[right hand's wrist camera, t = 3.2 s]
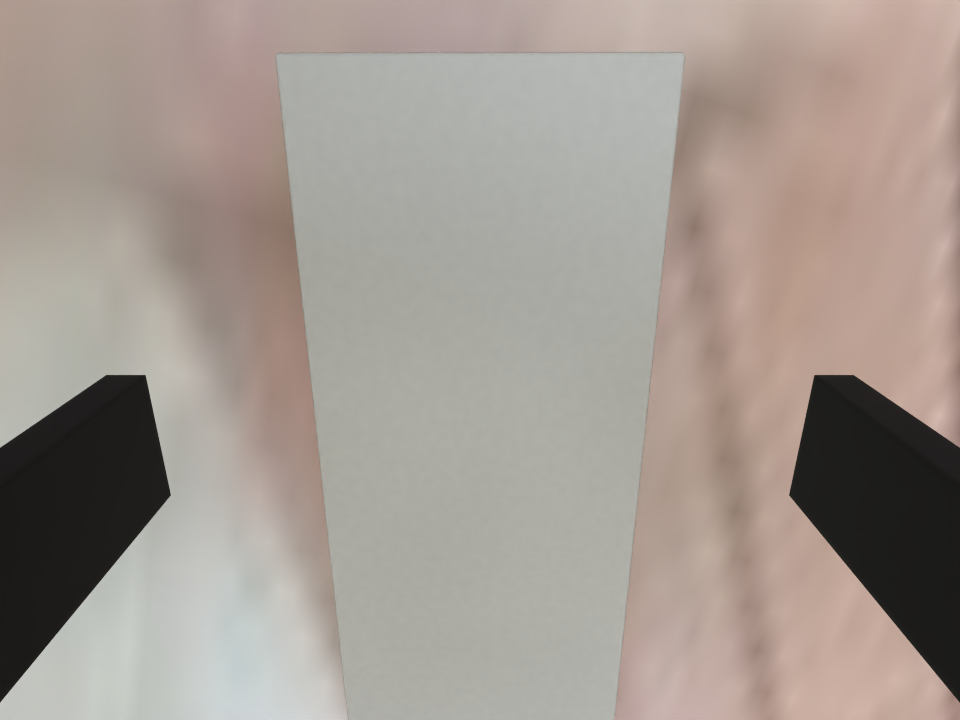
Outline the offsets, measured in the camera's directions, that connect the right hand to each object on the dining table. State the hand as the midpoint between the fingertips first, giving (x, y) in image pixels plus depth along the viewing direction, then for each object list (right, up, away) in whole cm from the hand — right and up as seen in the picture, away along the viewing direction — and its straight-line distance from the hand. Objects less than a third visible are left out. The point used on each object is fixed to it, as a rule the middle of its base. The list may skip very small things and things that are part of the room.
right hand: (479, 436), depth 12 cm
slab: (0, -22, +23) cm, 31 cm away
